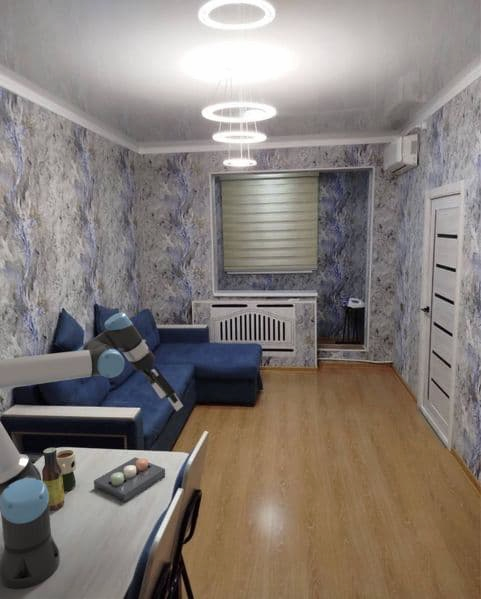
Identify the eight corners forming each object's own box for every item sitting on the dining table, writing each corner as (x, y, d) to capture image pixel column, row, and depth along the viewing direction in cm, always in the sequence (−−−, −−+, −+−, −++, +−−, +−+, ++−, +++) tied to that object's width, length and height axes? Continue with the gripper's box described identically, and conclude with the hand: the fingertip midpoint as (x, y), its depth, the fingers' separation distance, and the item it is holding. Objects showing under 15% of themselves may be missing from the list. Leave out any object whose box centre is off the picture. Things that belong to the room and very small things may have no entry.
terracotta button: (142, 474, 167) (141, 465, 167) (133, 470, 170) (133, 462, 169) (150, 468, 171) (150, 460, 170) (142, 465, 173) (142, 457, 173)
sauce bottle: (68, 505, 152) (64, 450, 149) (49, 513, 147) (45, 457, 144) (59, 497, 156) (55, 444, 153) (41, 505, 152) (36, 450, 149)
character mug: (75, 494, 158) (73, 459, 156) (54, 497, 156) (51, 462, 154) (78, 477, 169) (76, 445, 167) (58, 480, 167) (55, 448, 165)
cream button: (130, 481, 162) (129, 472, 162) (121, 478, 165) (121, 469, 164) (138, 476, 166) (138, 467, 165) (130, 472, 168) (130, 463, 168)
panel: (124, 502, 153) (124, 494, 152) (94, 488, 162) (93, 480, 161) (165, 476, 169) (164, 468, 169) (135, 464, 178) (135, 457, 178)
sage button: (117, 489, 157) (116, 480, 157) (108, 485, 160) (108, 476, 159) (126, 483, 161) (126, 474, 160) (118, 480, 163) (117, 471, 163)
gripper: (163, 356, 137) (195, 406, 145) (136, 340, 158) (166, 384, 166) (143, 371, 134) (177, 421, 143) (118, 353, 155) (149, 398, 164)
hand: (171, 401), depth 155 cm, fingers open, 13 cm apart
